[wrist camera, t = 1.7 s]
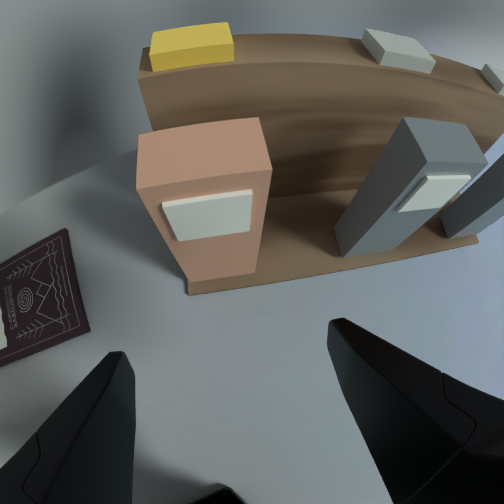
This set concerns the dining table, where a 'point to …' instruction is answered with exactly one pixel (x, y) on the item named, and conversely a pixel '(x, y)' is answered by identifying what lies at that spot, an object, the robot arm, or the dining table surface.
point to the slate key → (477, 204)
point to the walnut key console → (316, 126)
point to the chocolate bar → (39, 299)
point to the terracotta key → (207, 193)
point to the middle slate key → (408, 184)
